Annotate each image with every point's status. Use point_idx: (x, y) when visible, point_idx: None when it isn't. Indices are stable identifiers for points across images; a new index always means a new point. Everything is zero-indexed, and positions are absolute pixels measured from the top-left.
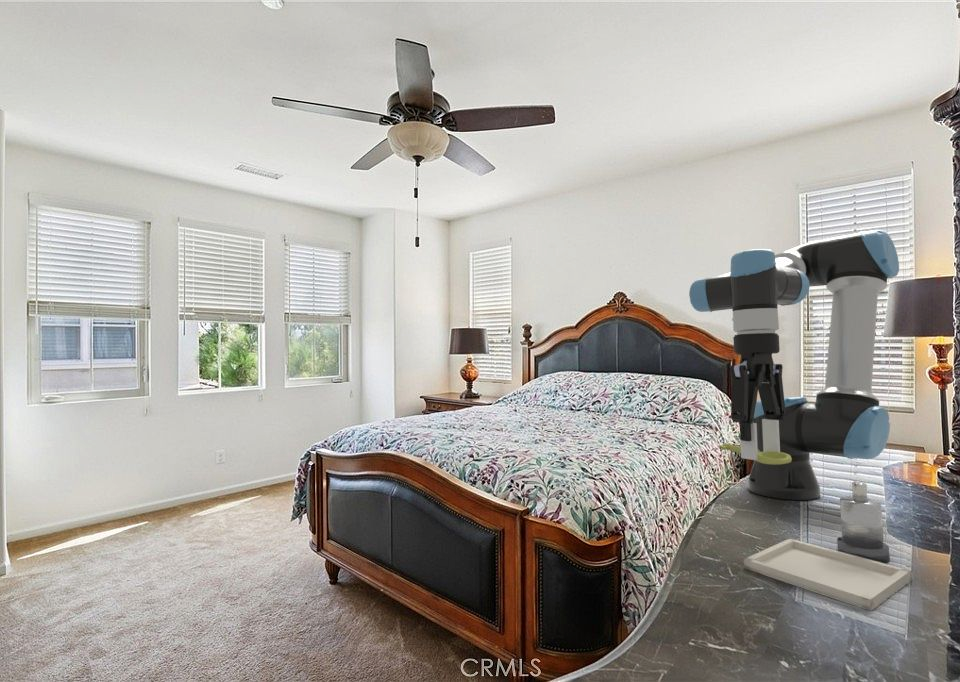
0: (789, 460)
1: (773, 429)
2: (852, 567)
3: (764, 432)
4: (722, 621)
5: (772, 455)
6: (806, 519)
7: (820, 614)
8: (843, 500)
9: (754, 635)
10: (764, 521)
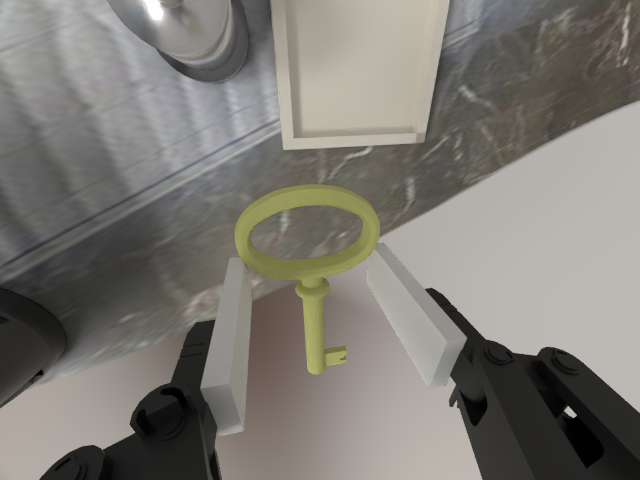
0: (297, 187)
1: (239, 343)
2: (305, 9)
3: (246, 356)
4: (571, 67)
5: (271, 260)
6: (105, 212)
7: None
8: (207, 32)
9: (590, 18)
10: (199, 242)
